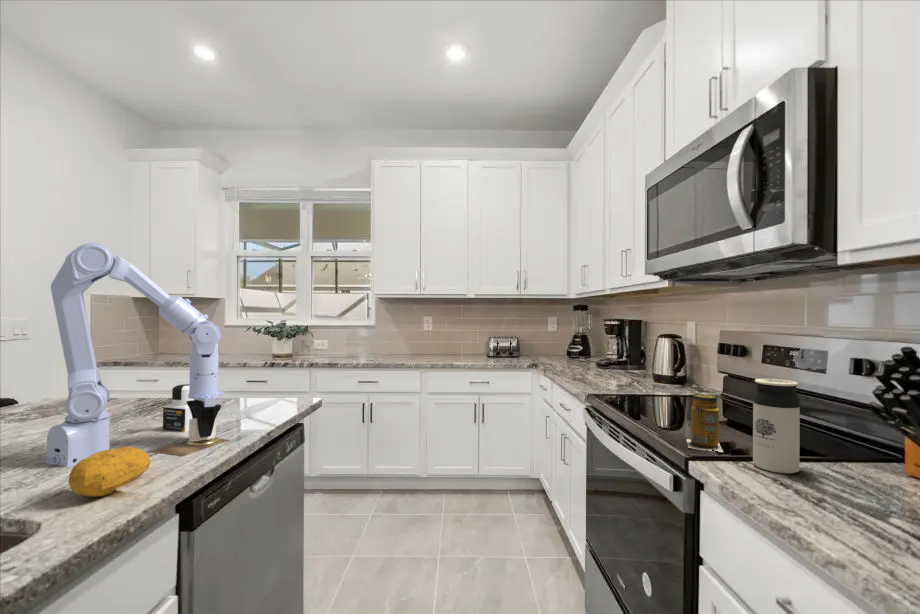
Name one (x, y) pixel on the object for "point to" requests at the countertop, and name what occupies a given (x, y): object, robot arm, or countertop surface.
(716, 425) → the condiment
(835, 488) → the countertop surface
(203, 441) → the knob
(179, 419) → the medicine bottle
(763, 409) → the travel mug
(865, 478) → the countertop surface
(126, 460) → the potato
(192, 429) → the cap
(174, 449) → the board
